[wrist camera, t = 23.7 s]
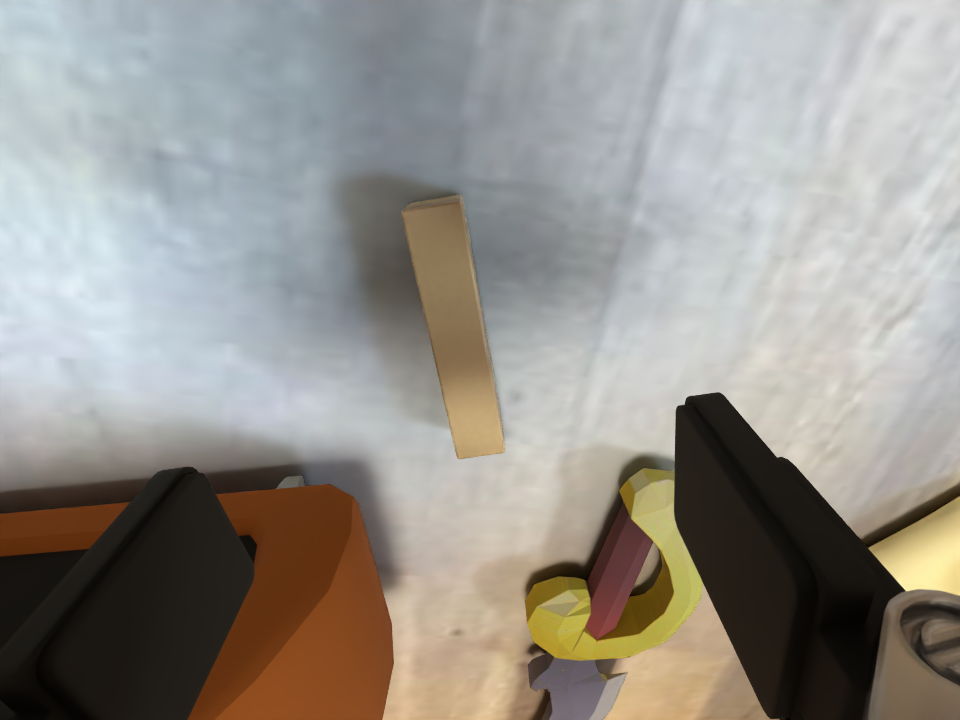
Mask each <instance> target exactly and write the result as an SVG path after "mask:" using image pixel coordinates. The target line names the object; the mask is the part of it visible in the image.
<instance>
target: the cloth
mask: <svg viewBox="0 0 960 720" xmlns="http://www.w3.org/2000/svg"><path fill="white" fill-rule="evenodd" d="M868 549H869V550H870V551H871V552H872V553H873V554H874V556H875V557H876V558H877V559H878V560H879V561H880V562H881V563H882V565H883V566H884V567H885V568H886V569H887V570H888V571H889V572H890V574H891V575H892V576H893V577H894V578H895V579H896V580H897V582H898V583H899V584H900V585H901V586H902V587H903V588H904V589H905V591H911V590H917V589H925V590H938V591H944V592H947V593H951V594H955V595H959V596H960V496H959V497H957V498H956V499H954V500H953V501H951V502H949V503H948V504H946V505H945V506H943V507H941V508H940V509H938V510H936V511H935V512H933V513H931V514H930V515H928V516H926V517H925V518H923V519H921V520H919V521H917V522H915V523H914V524H912V525H910V526H908V527H906V528H904V529H902V530H901V531H899V532H897V533H895V534H893V535H891V536H889V537H887V538H886V539H884V540H882V541H880V542H878V543H876V544H874V545H872V546H871V547H869V548H868Z"/></svg>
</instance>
